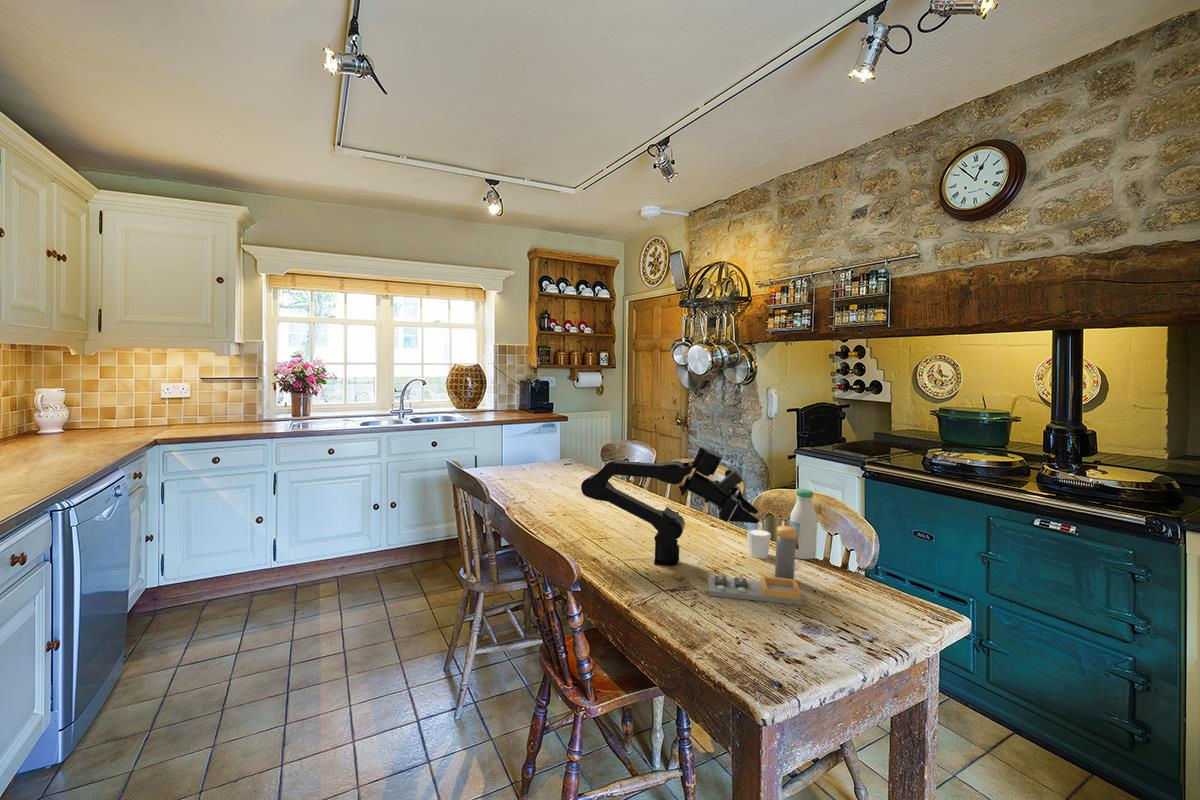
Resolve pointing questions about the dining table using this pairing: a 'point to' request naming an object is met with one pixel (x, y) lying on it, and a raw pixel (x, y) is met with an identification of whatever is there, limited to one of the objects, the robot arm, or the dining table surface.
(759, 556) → the white tapered cup
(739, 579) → the breaker panel
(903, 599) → the dining table surface
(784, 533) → the grey orange cylinder
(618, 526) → the dining table surface
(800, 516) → the milk bottle
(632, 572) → the dining table surface
